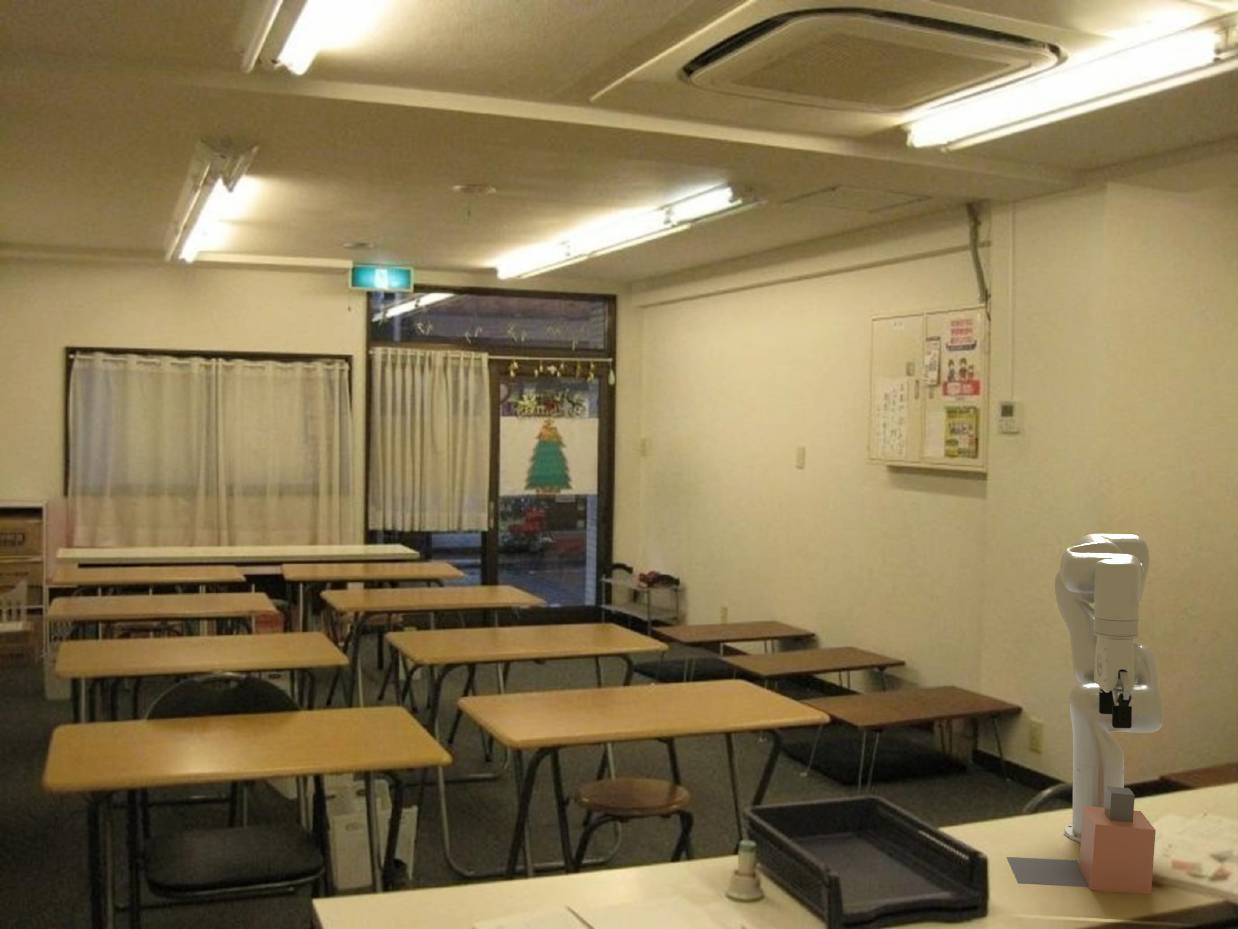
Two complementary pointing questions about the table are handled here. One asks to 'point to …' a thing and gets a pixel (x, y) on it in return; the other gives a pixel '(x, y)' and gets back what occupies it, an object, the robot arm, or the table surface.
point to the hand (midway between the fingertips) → (1114, 720)
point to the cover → (1117, 845)
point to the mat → (1047, 871)
